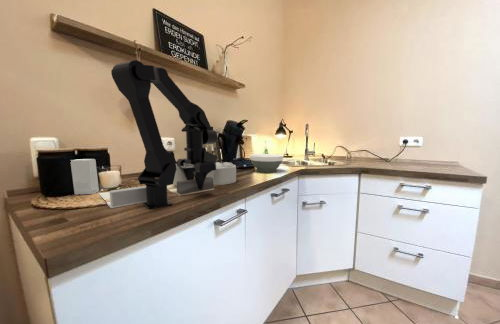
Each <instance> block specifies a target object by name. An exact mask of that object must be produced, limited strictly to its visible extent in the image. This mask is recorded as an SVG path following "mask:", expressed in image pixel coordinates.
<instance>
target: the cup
mask: <svg viewBox="0 0 500 324" xmlns="http://www.w3.org/2000/svg"><path fill="white" fill-rule="evenodd" d="M176 168H177V170H176V173H175V177H174V182H173V184H174V185H175V186H177V181H185V180H186V178H185V176H184V174H183V172H182V171H181V169H180V168H182V166H181V167H178V166H177V164H176Z"/></svg>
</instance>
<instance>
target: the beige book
mask: <svg viewBox="0 0 500 324" xmlns="http://www.w3.org/2000/svg"><path fill="white" fill-rule="evenodd" d="M213 190H215V188H214V185H213V178H210V177H207V176H206V178H205V181H204V184H203V188H202V189H201V190H199V189H198V186H197V183H196V180H195V178H194V179H192V180H185V181H177V186H175V185H174V184H171V185H167V192H170V193H172V194H174V195H177V196H179V197H180V196H187V195H191V194H197V193H198V194H199V193H203V192H208V191H213Z"/></svg>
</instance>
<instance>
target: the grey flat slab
mask: <svg viewBox="0 0 500 324" xmlns="http://www.w3.org/2000/svg"><path fill="white" fill-rule="evenodd" d="M98 195H99V197H100V198H101V199H102V198H103V199H104V200H106V199H109V198H110V202H107V203H106V205H107V206H108V207H109V208H110V209H115V208H120V207H126V206H130V205H131V206H132V205H136V204H143V202H147V199H146V185H142V186H134V187H127V188H121V189H120V188H119V189H113V190H109V191H106V192H98ZM103 199H102V200H103ZM104 200H103V201H104Z"/></svg>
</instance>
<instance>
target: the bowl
mask: <svg viewBox="0 0 500 324" xmlns="http://www.w3.org/2000/svg"><path fill="white" fill-rule="evenodd" d="M249 159H250V161H251V163H252V165H253V167H254V168H256V171H257V172H259V173H265V174H266V173H275V172H276V171H277V169H279V168H280V165H281V164H282V162H283V160H284V155H283V154H279V153H253V154H249Z"/></svg>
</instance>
